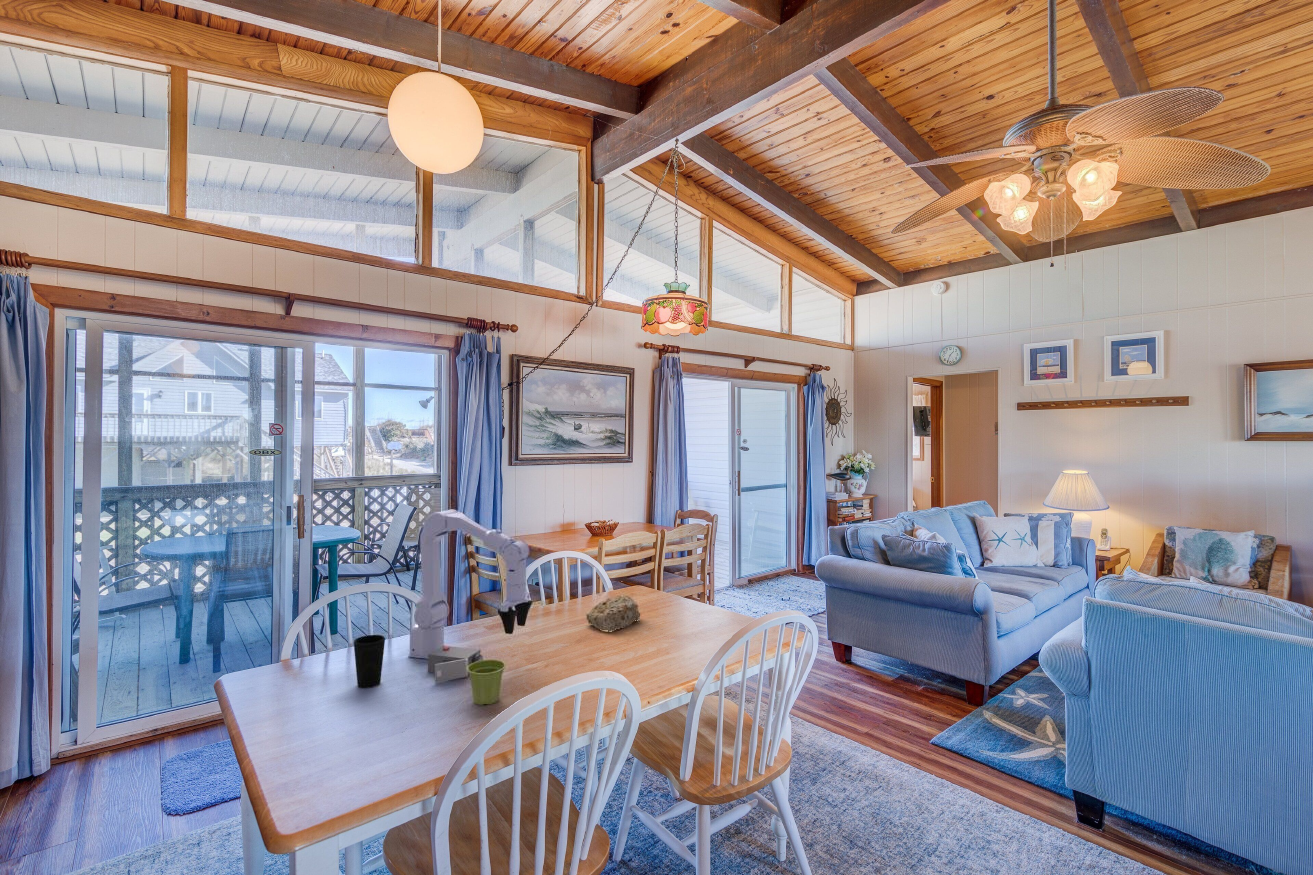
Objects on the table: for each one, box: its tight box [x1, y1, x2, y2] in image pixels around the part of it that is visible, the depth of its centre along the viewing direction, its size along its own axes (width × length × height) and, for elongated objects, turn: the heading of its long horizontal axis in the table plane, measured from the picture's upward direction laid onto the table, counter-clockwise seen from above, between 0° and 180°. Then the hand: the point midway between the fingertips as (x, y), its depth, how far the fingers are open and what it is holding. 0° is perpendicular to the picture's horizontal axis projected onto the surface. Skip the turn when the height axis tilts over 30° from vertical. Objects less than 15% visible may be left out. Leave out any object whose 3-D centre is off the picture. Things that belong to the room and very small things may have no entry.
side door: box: [434, 659, 469, 684], centre depth 170 cm, size 9×1×5 cm, turn 122°
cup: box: [353, 634, 386, 689], centre depth 166 cm, size 8×8×12 cm
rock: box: [585, 594, 642, 631], centre depth 223 cm, size 21×14×10 cm
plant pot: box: [467, 659, 506, 706], centre depth 157 cm, size 9×9×9 cm
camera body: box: [427, 645, 484, 676], centre depth 177 cm, size 14×8×6 cm, turn 77°
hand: (515, 629), depth 182 cm, fingers open, 7 cm apart
